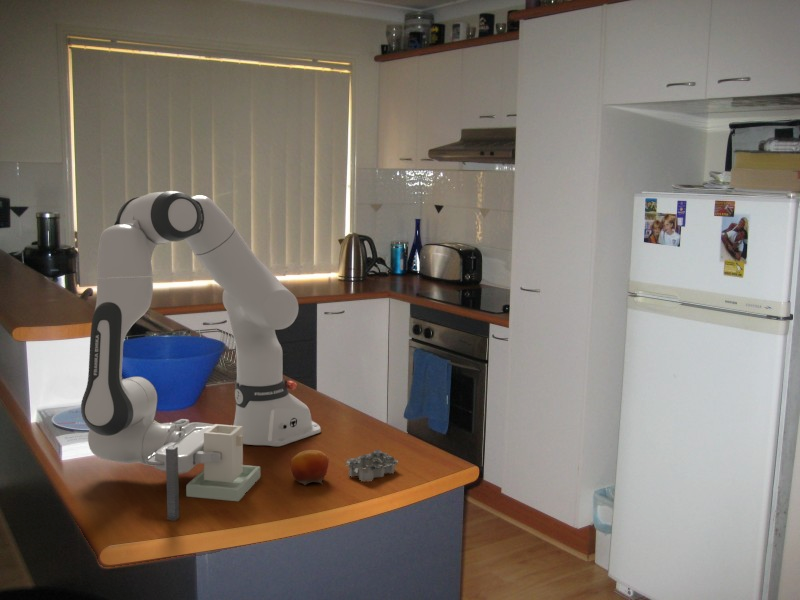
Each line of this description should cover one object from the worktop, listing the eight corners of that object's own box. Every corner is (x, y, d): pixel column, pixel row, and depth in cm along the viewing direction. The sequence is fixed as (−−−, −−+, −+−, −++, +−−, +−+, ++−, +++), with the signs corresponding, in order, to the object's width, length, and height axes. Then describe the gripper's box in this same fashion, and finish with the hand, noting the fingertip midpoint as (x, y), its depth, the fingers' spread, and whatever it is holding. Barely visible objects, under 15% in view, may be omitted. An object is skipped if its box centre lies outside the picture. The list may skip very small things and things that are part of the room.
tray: (212, 472, 174) (211, 462, 173) (260, 477, 172) (260, 466, 172) (186, 496, 161) (186, 485, 161) (238, 501, 159) (238, 490, 159)
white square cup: (215, 469, 169) (215, 424, 168) (247, 472, 168) (247, 426, 167) (204, 479, 164) (203, 433, 162) (236, 483, 162) (236, 435, 161)
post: (171, 516, 152) (169, 446, 150) (179, 517, 152) (177, 446, 149) (167, 520, 150) (165, 448, 148) (175, 520, 150) (173, 449, 148)
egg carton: (364, 485, 170) (364, 467, 169) (342, 474, 175) (342, 457, 175) (401, 472, 177) (401, 455, 176) (378, 463, 182) (379, 446, 182)
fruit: (299, 487, 164) (294, 448, 166) (290, 493, 170) (285, 456, 173) (337, 481, 167) (331, 444, 169) (326, 488, 174) (321, 451, 176)
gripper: (140, 447, 157) (207, 453, 154) (185, 416, 177) (245, 421, 174) (141, 478, 158) (207, 484, 155) (186, 443, 178) (245, 449, 175)
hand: (227, 450), depth 165 cm, fingers closed on white square cup, 6 cm apart
